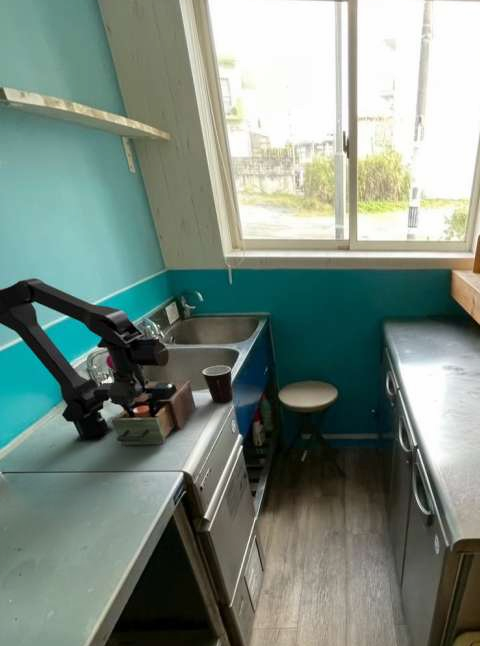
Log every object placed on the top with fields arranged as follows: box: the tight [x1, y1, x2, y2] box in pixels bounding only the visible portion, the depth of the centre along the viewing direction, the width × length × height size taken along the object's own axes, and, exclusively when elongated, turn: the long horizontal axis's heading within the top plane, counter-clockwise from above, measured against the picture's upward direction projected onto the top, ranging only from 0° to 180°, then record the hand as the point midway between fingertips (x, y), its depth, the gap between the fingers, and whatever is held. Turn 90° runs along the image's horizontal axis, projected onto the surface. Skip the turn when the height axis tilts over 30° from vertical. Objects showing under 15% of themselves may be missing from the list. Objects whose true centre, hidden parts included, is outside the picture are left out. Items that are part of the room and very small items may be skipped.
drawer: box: [111, 404, 176, 446], centre depth 106 cm, size 18×11×7 cm, turn 2°
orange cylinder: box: [133, 406, 152, 418], centre depth 105 cm, size 4×6×5 cm
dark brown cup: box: [202, 365, 234, 405], centre depth 126 cm, size 12×9×10 cm
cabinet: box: [134, 380, 197, 431], centre depth 116 cm, size 15×13×9 cm
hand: (146, 420), depth 106 cm, fingers closed on orange cylinder, 4 cm apart
